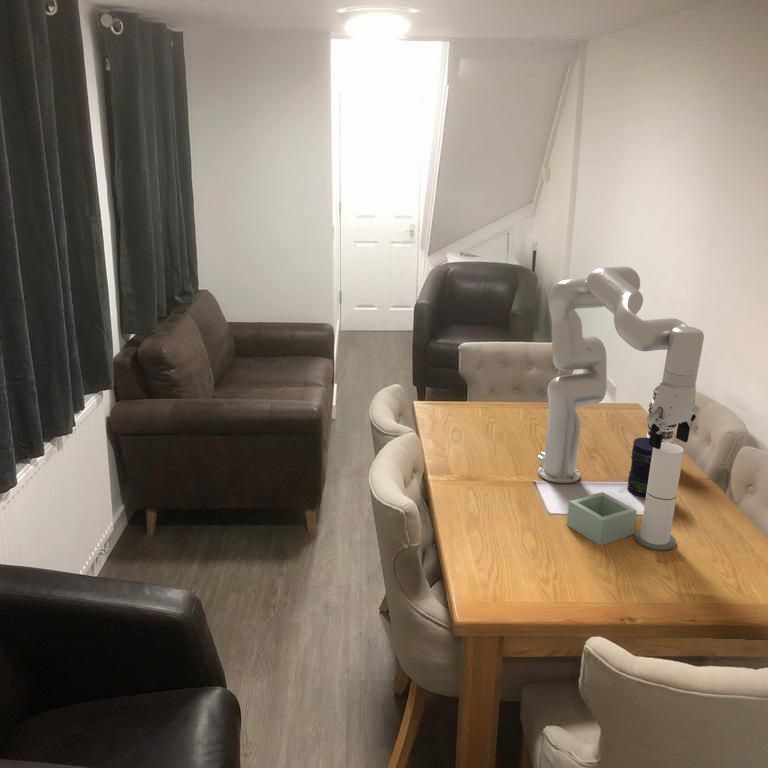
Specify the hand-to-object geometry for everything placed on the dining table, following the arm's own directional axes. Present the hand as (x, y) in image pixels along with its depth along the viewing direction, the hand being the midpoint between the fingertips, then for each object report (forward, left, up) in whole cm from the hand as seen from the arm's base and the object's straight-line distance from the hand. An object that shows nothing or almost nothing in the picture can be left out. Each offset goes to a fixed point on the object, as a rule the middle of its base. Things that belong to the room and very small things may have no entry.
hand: (668, 443), depth 193 cm
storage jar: (-21, +20, -27) cm, 40 cm away
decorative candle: (-35, +41, -27) cm, 61 cm away
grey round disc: (+1, 0, -27) cm, 27 cm away
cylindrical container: (0, 0, -26) cm, 26 cm away
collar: (-10, -9, -27) cm, 30 cm away
